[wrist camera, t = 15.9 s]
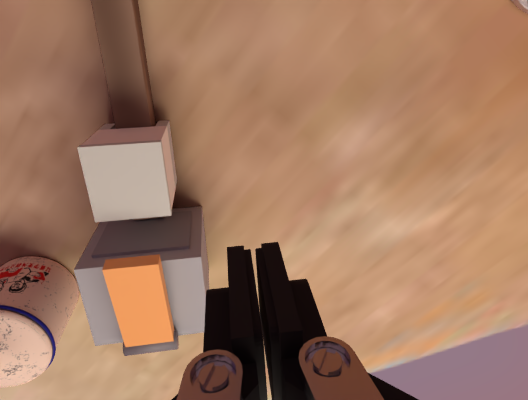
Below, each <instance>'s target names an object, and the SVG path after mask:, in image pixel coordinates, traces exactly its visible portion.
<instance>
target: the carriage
mask: <svg viewBox="0 0 528 400" xmlns="http://www.w3.org/2000/svg"><path fill="white" fill-rule="evenodd" d="M77 149H78V153H79V157H80V161H81V166H82V170H83V174H84V178H85V182H86V186H87V191H88V195H89V199H90V203H91V207H92V211H93V216H94V220H95V222H106V221H117V220H128V219H140V218H151V217H162V216H171V215H172V205H173V200H174V195H175V189H176V184H177V175H176V168H175V160H174V152H173V145H172V137H171V130H170V122H169V120H164V121H158V122H157V124H156V126H154V127H138V128H121V129H116V128H115V123H113V124H104V125H103V126H102V127H101V128H99V129H98V130H97V131H96V132H95V133H94V134H93V135H92V136H91V137H90V138H89V139H87V140H86V141H85V142H84V143H83V144H82V145H79V146H78V147H77Z"/></svg>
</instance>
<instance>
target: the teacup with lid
mask: <svg viewBox="0 0 528 400" xmlns="http://www.w3.org/2000/svg"><path fill="white" fill-rule="evenodd" d="M78 297H79V289H78V284H77V282H76V280H75V278H74V277H73V275H72V274H71V273H70V272H69V271H68V270H67V269H66V268H65V267H64V266H62V265H61V264H59V263H57V262H55V261H52V260H50V259H47V258H42V257H35V256H27V257H20V258H16V259H13V260H11V261H9V262H7V263H5V264H4V265H2V266H1V267H0V387H12V386H17V385H21V384H24V383H27V382H29V381H31V380H33V379H35V378H36V377H38V376H39V375H40V374H42V373H43V372H44V371H45V370H46V369H47V368H48V367H49V365H50V364H51V362H52V361H53V358H54V356H55V350H56V346H57V344H58V342H59V340H60V337H61V335H62V333H63V331H64V329H65V327H66V325H67V323H68V321H69V318H70V316H71V314H72V312H73V310H74V308H75V306H76V304H77V301H78Z"/></svg>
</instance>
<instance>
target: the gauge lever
mask: <svg viewBox="0 0 528 400" xmlns="http://www.w3.org/2000/svg"><path fill="white" fill-rule="evenodd" d="M102 271H103V274H104V278H105V281H106V284H107V288H108V291H109V294H110V298H111V301H112V304H113V308H114V311H115V314H116V318H117V321H118V324H119V328H120V331H121V334H122V338H123V353H124V355H125V356H128V355H136V354H144V353H151V352H159V351H167V350H175V349H178V331H177V330H174V325H173V320H172V315H171V309H170V304H169V299H168V294H167V289H166V284H165V279H164V273H163V268H162V263H161V258H160V254H157V255H147V256H137V257H127V258H117V259H107V260H105V263H104V266H103V269H102Z"/></svg>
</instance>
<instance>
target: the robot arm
mask: <svg viewBox="0 0 528 400" xmlns="http://www.w3.org/2000/svg"><path fill="white" fill-rule="evenodd" d="M511 1H512V2H513V3H514V4H515V5H516V7H518V8H519V9H520V10H522V11H523V12H525V13H527V14H528V0H511ZM227 258H228V282H229V287H228V288H219V289H210V290H206V303H205V326H204V348H203V353H201V354H199V355H198V356H196V357H195V358H194V359H192V361H191V362H190V363H189V364H188V365H187V367H186V369H185V371H184V374H183V378H182V381H181V385H180V389H179V392H178V394H177V395H176V396H175V397H174V398H173V399H172V400H267V387H266V373H265V358H264V347H265V354H266V361H267V368H268V375H269V381H270V388H271V395H272V400H418V399H416V398H414V397H413V396H410V395H409V394H407V393H405V392H403V391H401V390H399V389H397V388H395V387H393V386H391V385H390V384H388V383H386V382H384V381H382V380H380V379H379V378H376V377H375V376H372V375H371V374H369V373H367V371H366V370H365V368H364V366H363V365H362V363H361V362H360V360H359V358H358V357H357V355H356V354H355V352H354V351H353V349H352V348H351V347H350V346H349V345H348V344H346V343H345V342H344V341H342V340H340V339H337V338H334V337H327V334H326V332H325V329H324V326H323V323H322V320H321V317H320V315H319V312H318V309H317V306H316V303H315V300H314V298H313V295H312V292H311V289H310V286H309V283H308V281H307V279H300V280H291V281H289V279H288V276H287V272H286V269H285V265H284V262H283V258H282V254H281V251H280V247H279V244H278V242H273V243H264V244H261V248H258V249H256V264H257V278H258V292H259V305H258V298H257V291H256V284H255V277H254V270H253V264H252V257H251V250H250V249H248V250H244V246H234V247H227ZM259 307H260V312H259ZM263 340H264V344H263Z"/></svg>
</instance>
